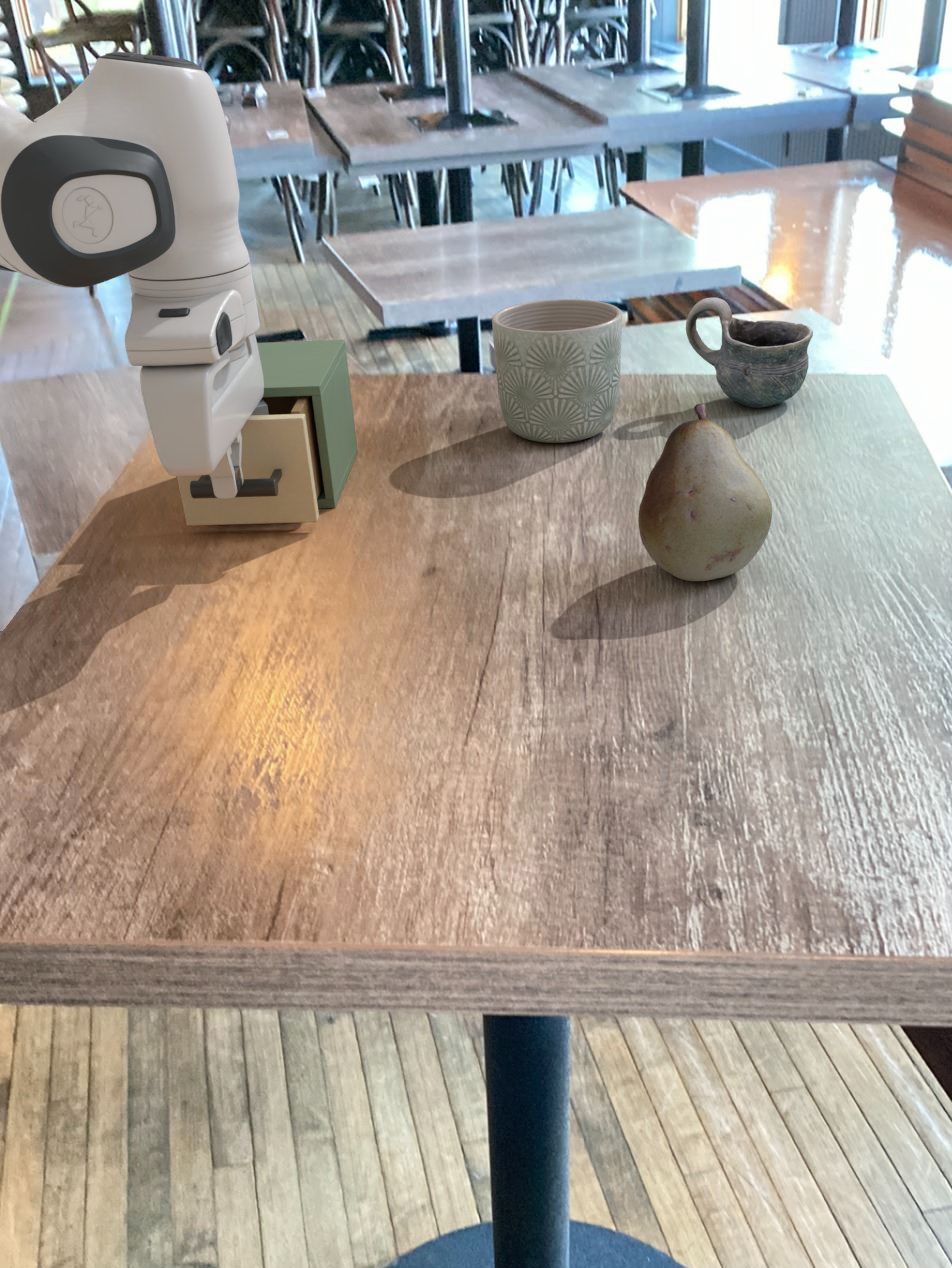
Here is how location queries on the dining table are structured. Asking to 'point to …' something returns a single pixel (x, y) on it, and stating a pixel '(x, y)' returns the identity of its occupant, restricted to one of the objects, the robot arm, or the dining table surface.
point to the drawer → (266, 471)
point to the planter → (558, 367)
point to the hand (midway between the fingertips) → (229, 492)
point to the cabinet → (317, 401)
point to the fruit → (703, 504)
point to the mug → (754, 355)
